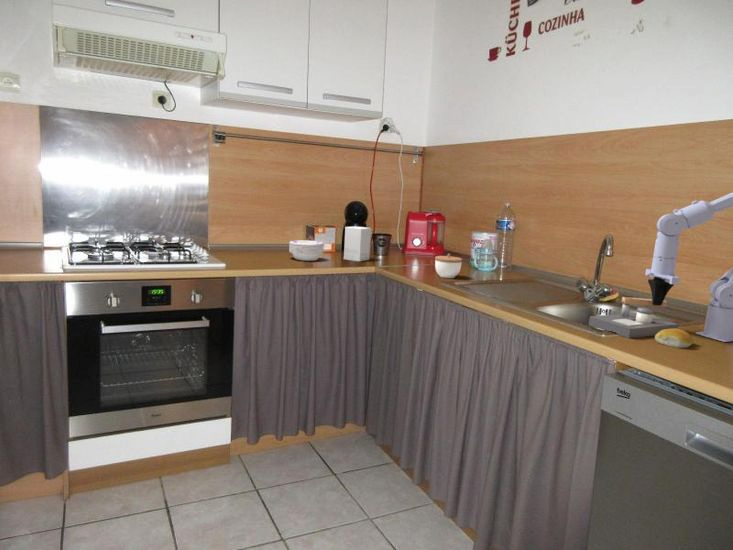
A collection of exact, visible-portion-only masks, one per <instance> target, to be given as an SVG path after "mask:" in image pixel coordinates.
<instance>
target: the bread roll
mask: <svg viewBox="0 0 733 550" xmlns="http://www.w3.org/2000/svg"><path fill="white" fill-rule="evenodd" d="M654 340H655V341H656V343H658V344H661V345H664V346H667V347H672V348H678V349H686V348H689V347H690V346H691V345H693V343H694V340H693V337H692V336H691V335H690V333H689V332H687V331H686V330H684V329H680V328H678V329H676V328H674V329H665V330H661V331H660V332H658V333H657V334H656V335H654Z"/></svg>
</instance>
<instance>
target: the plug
mask: <svg viewBox="0 0 733 550" xmlns="http://www.w3.org/2000/svg"><path fill="white" fill-rule="evenodd" d="M636 313H637V314H636V320H635V321H636V322H640V323H643V324H651V323H652V317H653V316H654V309H652V308H649V307H640V306H639V307H637V309H636Z"/></svg>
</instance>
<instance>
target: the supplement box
mask: <svg viewBox="0 0 733 550" xmlns="http://www.w3.org/2000/svg"><path fill="white" fill-rule="evenodd" d="M344 229H345V230H344V245H343V246H344V249H343V260H347V261H353V262H363V261H364V262H365V261H369V260H370V255H371V240H372V239H371V238H372V227H365V226H345V227H344Z"/></svg>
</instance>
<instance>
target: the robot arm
mask: <svg viewBox="0 0 733 550" xmlns="http://www.w3.org/2000/svg"><path fill="white" fill-rule="evenodd" d="M732 207H733V192H731V193H728V194H726V195H723V196H721V197H719V198H716V199H714V200H712V201H709V202H708V201H705V200H699V201H698V200H693V201H691V204H689V205H687V206H685V207H682V208H680V209H677V208H675V209H673V210H672V212H673V213H668V214H667V213H666V214H664V215H662V216H660V218H659V219H658V220H657V222H656V229H657V234H656V239H655V243H654V249H653V255H652V256H653V257H652V262H651V268H646V269H645V274H644V275H645V276H646V277H651V278H650V279H648V280H647V282H648V284H649V288H650V292H651V297H652V298H651V299H652V301H653V305H659V306H658V307H660V306H661V305H662V303H663V301H664V300H665V298H666V297H667V294H668V293H669V292H670V290H671V289H672V288H673V287H674V285H677V286H678V285H680V277H678V276H677V275H676V274H675V270H676V264H677V257H678V251H679V247H680V246H679V245H680V242H679V241H680V235H681V233H683V231H684V229H685V230H689V229H691V228H694V227H696V226H699V225H702V224H703V223H707V222H709V221H711V220H713V217H714V215H715V214H716V213H718V212H721V211H724V210H726V209H729V208H732ZM652 278H653V279H652ZM709 294H710V296H711V299H710V300H709V301H708V307H707V310H706V311H707V312H706V317H705V323H704V328H703V331H696V332H695V334H696V335H698V336H702V337H706V338H708V339H712V340H717V341H720V342H723V343H727V342H733V266H732V267H731V268H730V269H729V270H727V271H726V272H725V273H724V274H723V275H722V277H720V278H719V279H716V280H715V281H714V282H712V283H711V285H710V286H709Z"/></svg>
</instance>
